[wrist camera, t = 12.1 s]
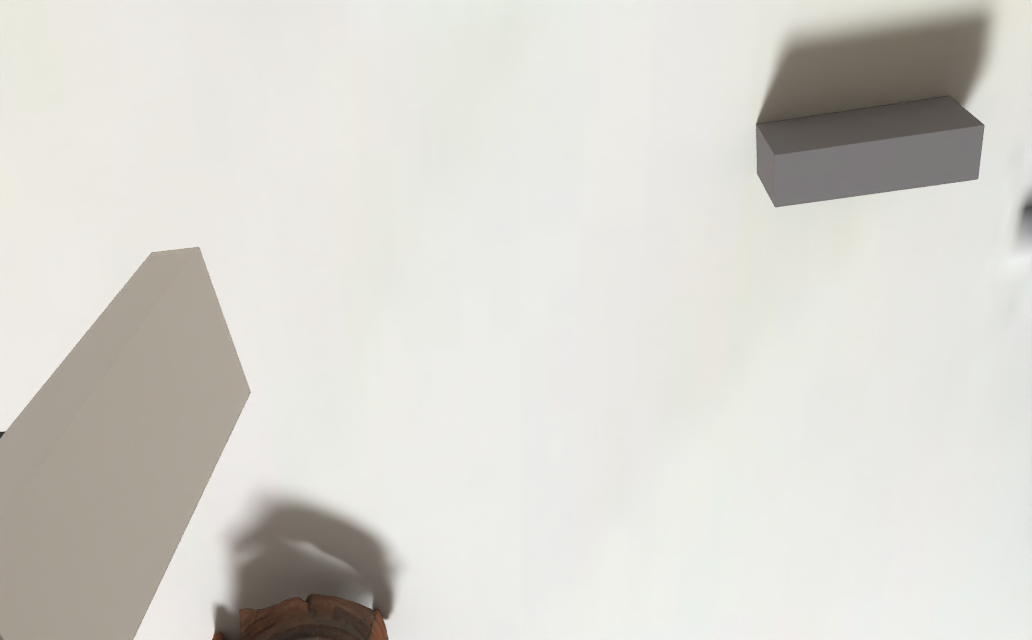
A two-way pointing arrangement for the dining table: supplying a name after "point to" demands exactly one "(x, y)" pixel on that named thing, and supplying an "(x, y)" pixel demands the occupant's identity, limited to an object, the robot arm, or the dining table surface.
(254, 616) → the brown openwork arched shell
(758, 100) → the dining table surface
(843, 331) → the dining table surface
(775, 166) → the pair of gray blocks
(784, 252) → the dining table surface
